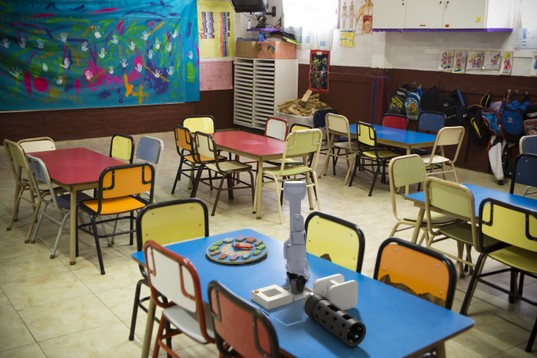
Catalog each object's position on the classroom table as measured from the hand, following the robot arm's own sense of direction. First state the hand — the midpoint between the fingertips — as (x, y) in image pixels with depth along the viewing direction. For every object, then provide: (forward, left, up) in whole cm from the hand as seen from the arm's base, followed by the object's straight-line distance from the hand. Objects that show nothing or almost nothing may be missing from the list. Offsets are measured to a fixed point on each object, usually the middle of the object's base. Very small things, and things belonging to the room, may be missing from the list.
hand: (297, 289), depth 242 cm
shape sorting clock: (-4, -55, -3) cm, 55 cm away
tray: (0, 0, -2) cm, 2 cm away
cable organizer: (-5, +18, -2) cm, 19 cm away
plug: (0, 0, -1) cm, 1 cm away
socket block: (+13, 0, -2) cm, 13 cm away
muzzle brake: (+9, +33, -2) cm, 34 cm away
